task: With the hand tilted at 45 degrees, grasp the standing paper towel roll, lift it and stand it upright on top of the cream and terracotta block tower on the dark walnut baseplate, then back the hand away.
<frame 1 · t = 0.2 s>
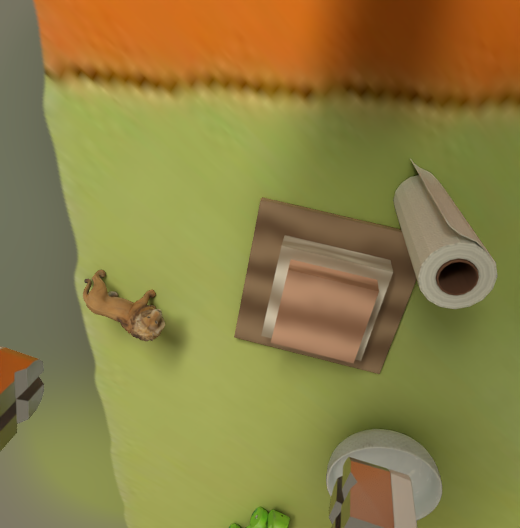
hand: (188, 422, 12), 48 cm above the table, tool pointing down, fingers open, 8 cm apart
cereal bowl: (379, 450, 74), on the table
paper towel roll: (420, 193, 55), on the table
block tower: (324, 289, 63), on the table
lion figurine: (136, 290, 69), on the table
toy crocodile: (256, 523, 88), on the table
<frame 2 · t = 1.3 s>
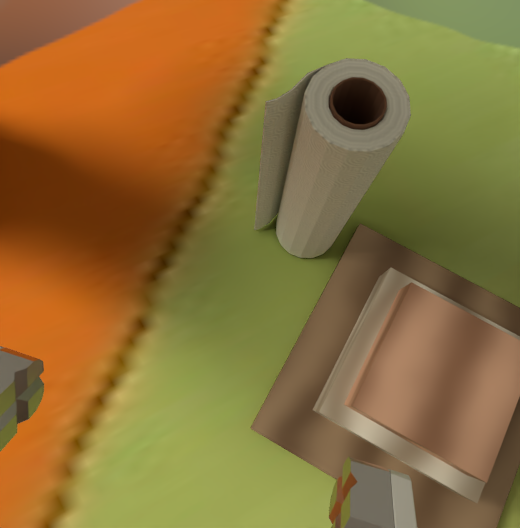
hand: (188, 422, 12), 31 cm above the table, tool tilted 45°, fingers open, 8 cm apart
paper towel roll: (300, 228, 46), on the table
block tower: (411, 379, 42), on the table
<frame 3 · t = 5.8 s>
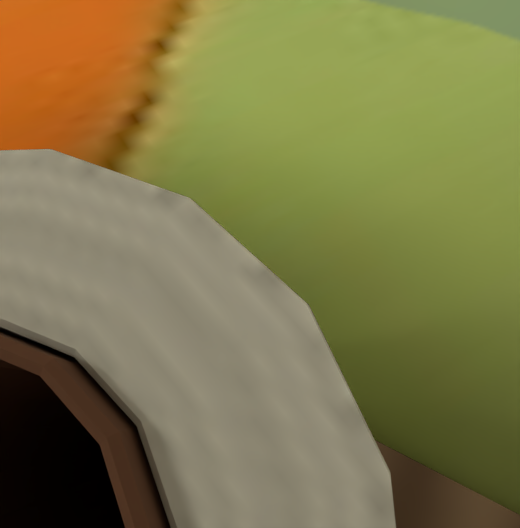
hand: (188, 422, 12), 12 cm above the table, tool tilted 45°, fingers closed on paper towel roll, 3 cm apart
paper towel roll: (214, 426, 23), on the table, touching gripper
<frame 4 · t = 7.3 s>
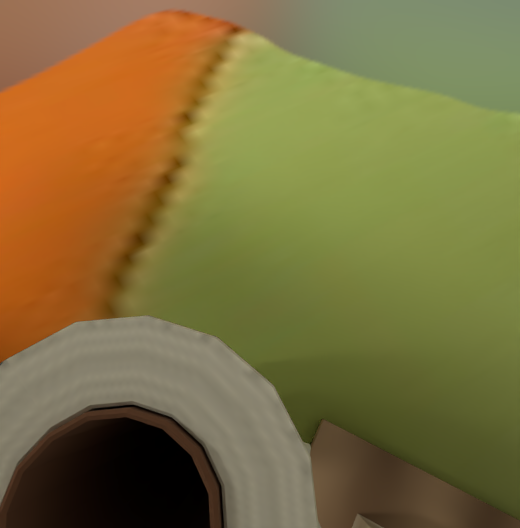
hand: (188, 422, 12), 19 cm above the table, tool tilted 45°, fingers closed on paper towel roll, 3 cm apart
paper towel roll: (217, 410, 27), point 3 cm above the table, touching gripper
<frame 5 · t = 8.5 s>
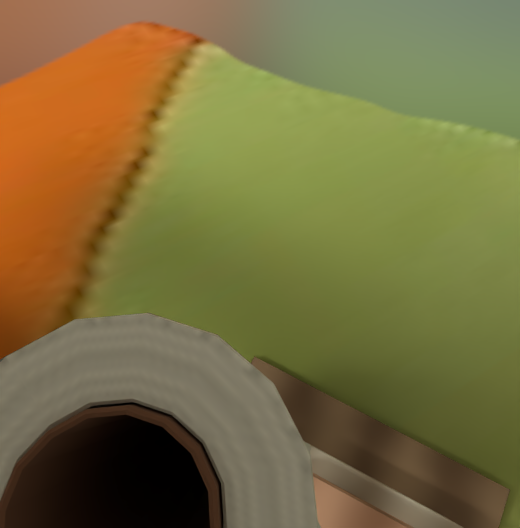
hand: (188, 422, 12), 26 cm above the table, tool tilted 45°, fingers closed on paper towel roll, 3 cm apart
paper towel roll: (216, 409, 27), point 10 cm above the table, touching gripper
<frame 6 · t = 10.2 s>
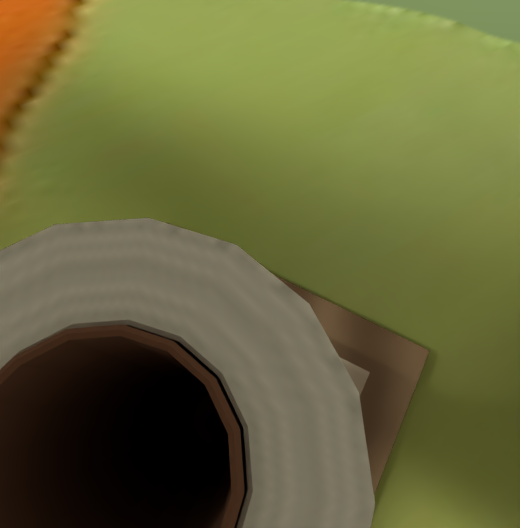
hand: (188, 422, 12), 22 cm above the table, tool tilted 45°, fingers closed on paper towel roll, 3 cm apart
paper towel roll: (211, 412, 25), point 7 cm above the table, touching block tower, gripper
block tower: (225, 421, 32), on the table
when the fingers open (21 cm above the table, at t = 10.6 s): paper towel roll stays where it is, resting on block tower.
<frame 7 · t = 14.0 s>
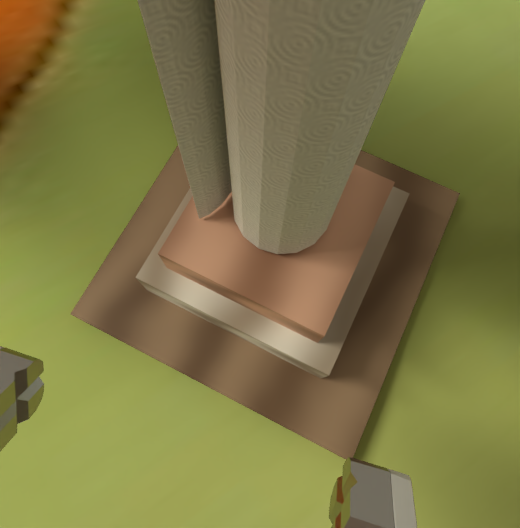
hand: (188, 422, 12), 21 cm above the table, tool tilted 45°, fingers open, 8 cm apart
paper towel roll: (273, 207, 28), point 7 cm above the table, touching block tower
block tower: (274, 254, 35), on the table
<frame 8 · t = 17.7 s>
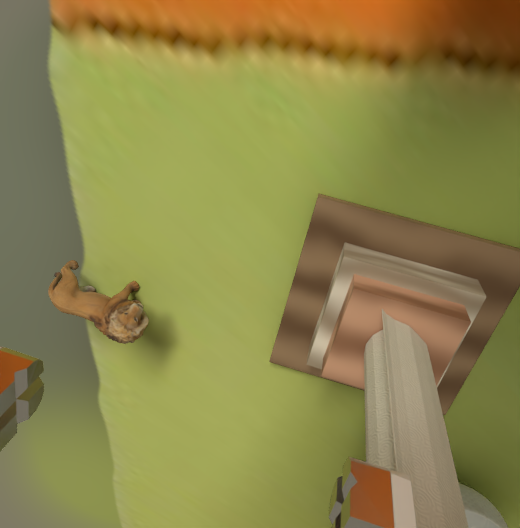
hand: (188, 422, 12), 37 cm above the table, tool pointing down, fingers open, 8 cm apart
cereal bowl: (432, 499, 63), on the table
paper towel roll: (397, 345, 44), point 7 cm above the table, touching block tower
block tower: (386, 310, 51), on the table
lion figurine: (116, 283, 57), on the table
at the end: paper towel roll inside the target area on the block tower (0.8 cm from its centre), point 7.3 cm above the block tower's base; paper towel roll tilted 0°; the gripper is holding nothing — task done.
